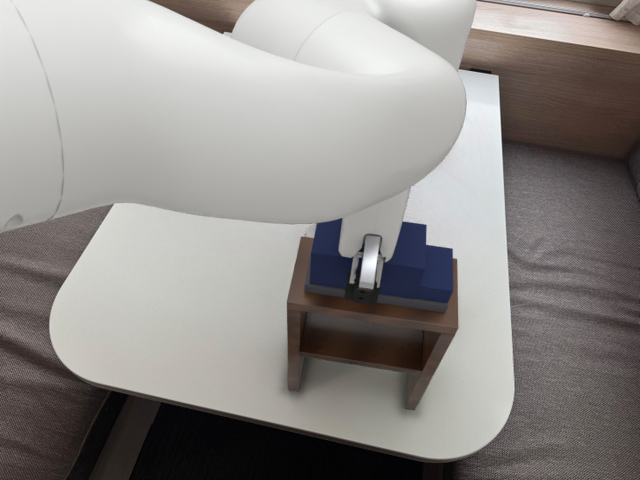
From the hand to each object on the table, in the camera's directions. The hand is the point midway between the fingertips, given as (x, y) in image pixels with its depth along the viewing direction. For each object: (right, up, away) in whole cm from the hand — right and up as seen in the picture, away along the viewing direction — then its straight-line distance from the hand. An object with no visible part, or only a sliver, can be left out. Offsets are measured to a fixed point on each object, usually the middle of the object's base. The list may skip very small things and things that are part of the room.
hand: (365, 259), depth 54 cm
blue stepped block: (+1, -2, +3) cm, 4 cm away
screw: (-5, +2, +36) cm, 36 cm away
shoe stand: (0, -17, +22) cm, 27 cm away
